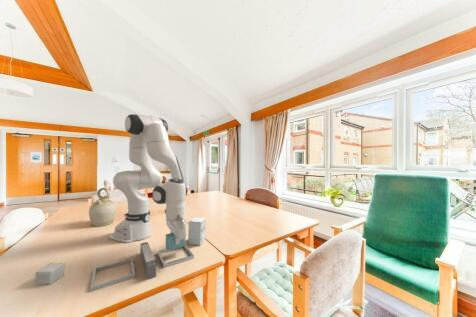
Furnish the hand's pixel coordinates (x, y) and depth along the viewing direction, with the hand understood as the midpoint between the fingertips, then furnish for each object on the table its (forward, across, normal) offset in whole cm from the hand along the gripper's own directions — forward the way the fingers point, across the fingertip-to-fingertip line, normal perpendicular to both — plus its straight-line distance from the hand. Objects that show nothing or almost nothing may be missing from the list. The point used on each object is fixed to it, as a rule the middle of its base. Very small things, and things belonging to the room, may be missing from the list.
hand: (175, 241), depth 85 cm
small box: (+7, +9, +44) cm, 45 cm away
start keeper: (+7, 0, 0) cm, 7 cm away
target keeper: (+7, 0, +24) cm, 25 cm away
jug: (+7, +69, +30) cm, 76 cm away
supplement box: (+7, +8, -14) cm, 17 cm away
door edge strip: (+7, 0, +12) cm, 14 cm away
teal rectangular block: (+2, 0, 0) cm, 2 cm away
